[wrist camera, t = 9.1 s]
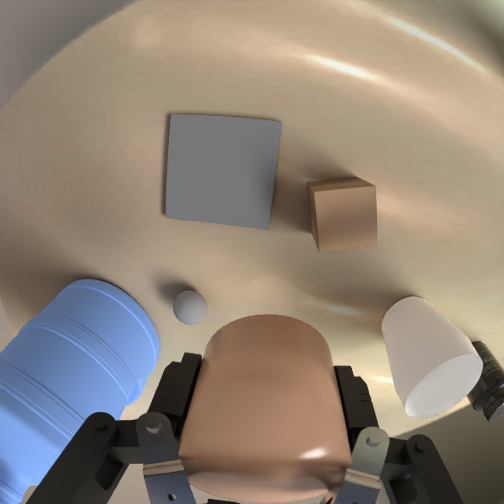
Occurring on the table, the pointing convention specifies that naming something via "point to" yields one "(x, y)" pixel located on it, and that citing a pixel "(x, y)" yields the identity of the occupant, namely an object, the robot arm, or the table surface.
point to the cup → (428, 358)
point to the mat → (221, 169)
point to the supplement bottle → (488, 386)
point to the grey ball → (190, 307)
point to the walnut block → (342, 214)
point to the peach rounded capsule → (265, 414)
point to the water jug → (68, 376)
